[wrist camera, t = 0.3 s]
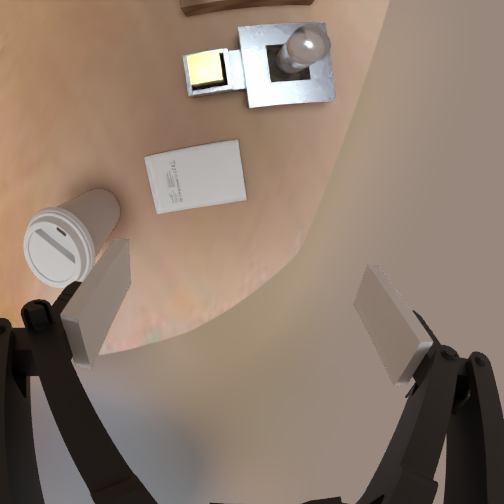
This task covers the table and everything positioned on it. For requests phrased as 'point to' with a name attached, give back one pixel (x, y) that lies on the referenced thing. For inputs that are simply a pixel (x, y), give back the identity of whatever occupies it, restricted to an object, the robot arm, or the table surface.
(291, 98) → the block
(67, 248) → the coffee cup
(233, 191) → the external hard drive
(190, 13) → the rack
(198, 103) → the table surface
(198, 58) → the yellow piece
